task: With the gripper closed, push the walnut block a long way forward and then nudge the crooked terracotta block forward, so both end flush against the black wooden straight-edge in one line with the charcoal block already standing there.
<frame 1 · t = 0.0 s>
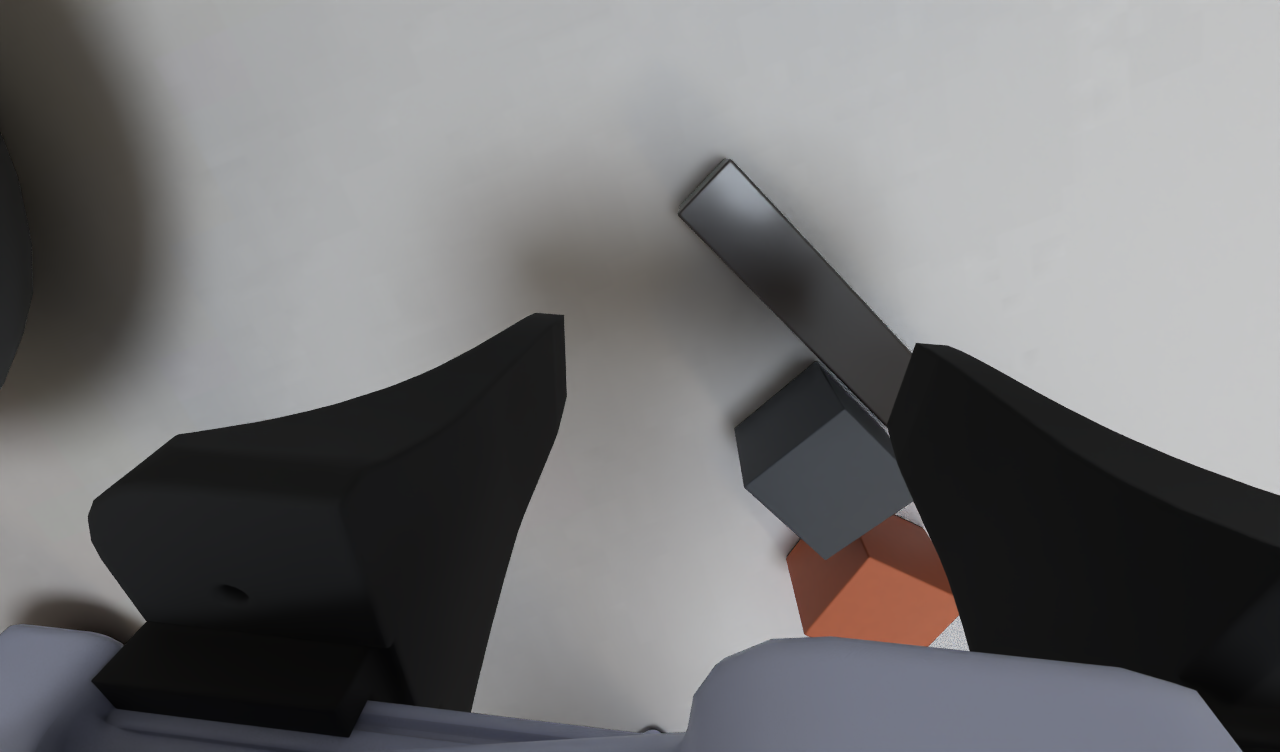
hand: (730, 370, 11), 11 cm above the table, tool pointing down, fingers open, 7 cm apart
terracotta block: (853, 543, 25), on the table
charcoal block: (808, 429, 23), on the table
straight edge: (890, 380, 22), on the table
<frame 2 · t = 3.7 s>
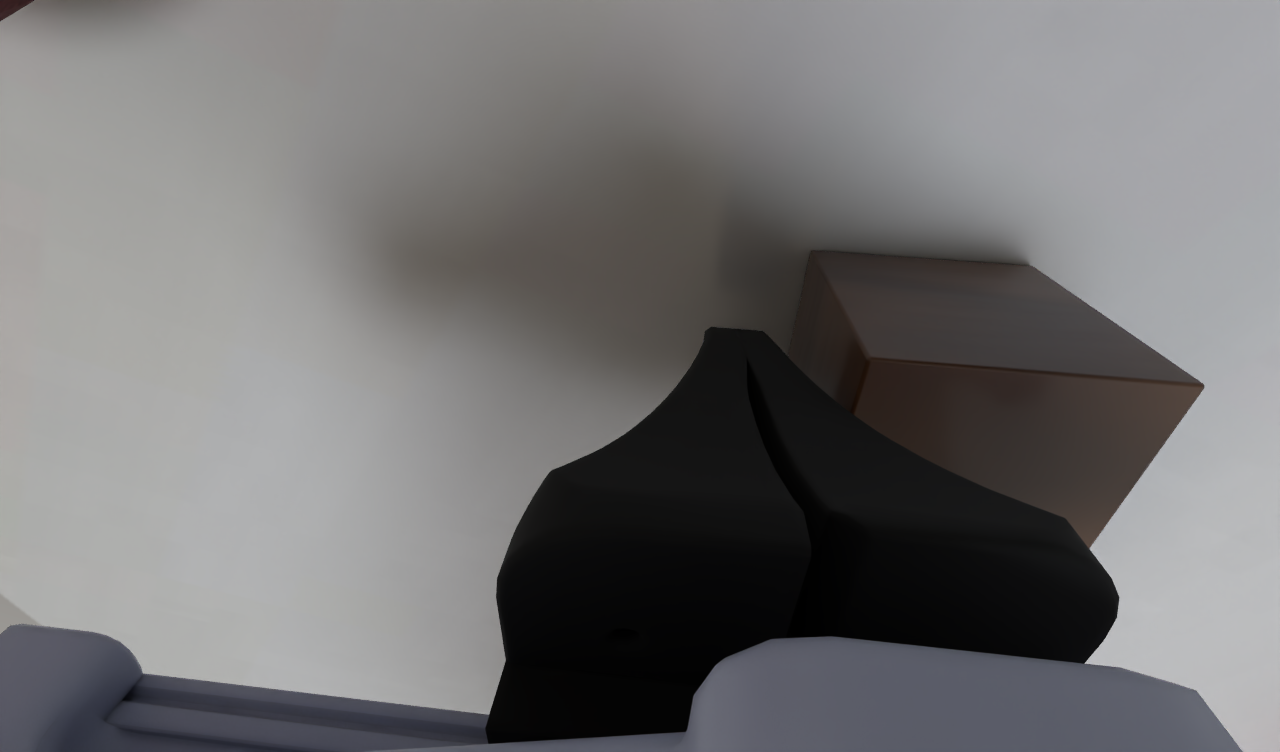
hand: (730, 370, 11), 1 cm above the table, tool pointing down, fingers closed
walnut block: (889, 352, 12), on the table, touching gripper
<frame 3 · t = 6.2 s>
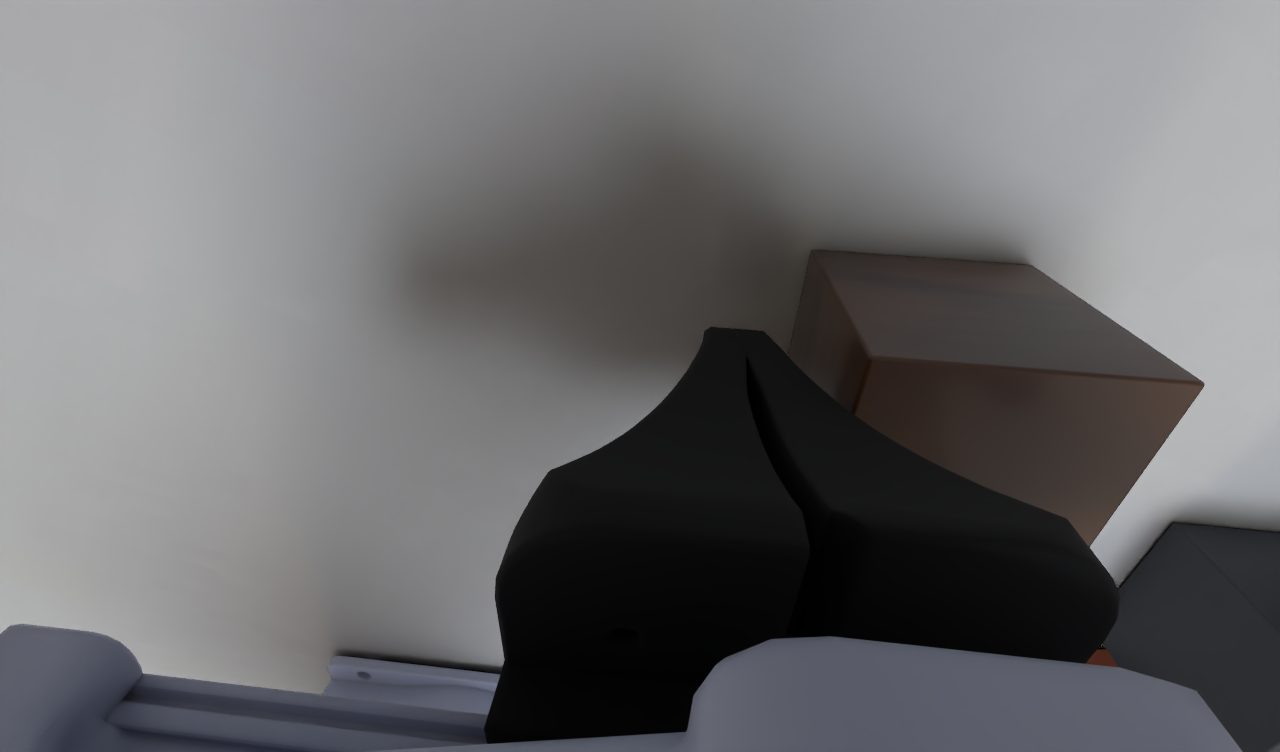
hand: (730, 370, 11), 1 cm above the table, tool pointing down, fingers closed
walnut block: (889, 351, 12), on the table, touching gripper
terracotta block: (1031, 690, 19), on the table
charcoal block: (1210, 585, 15), on the table
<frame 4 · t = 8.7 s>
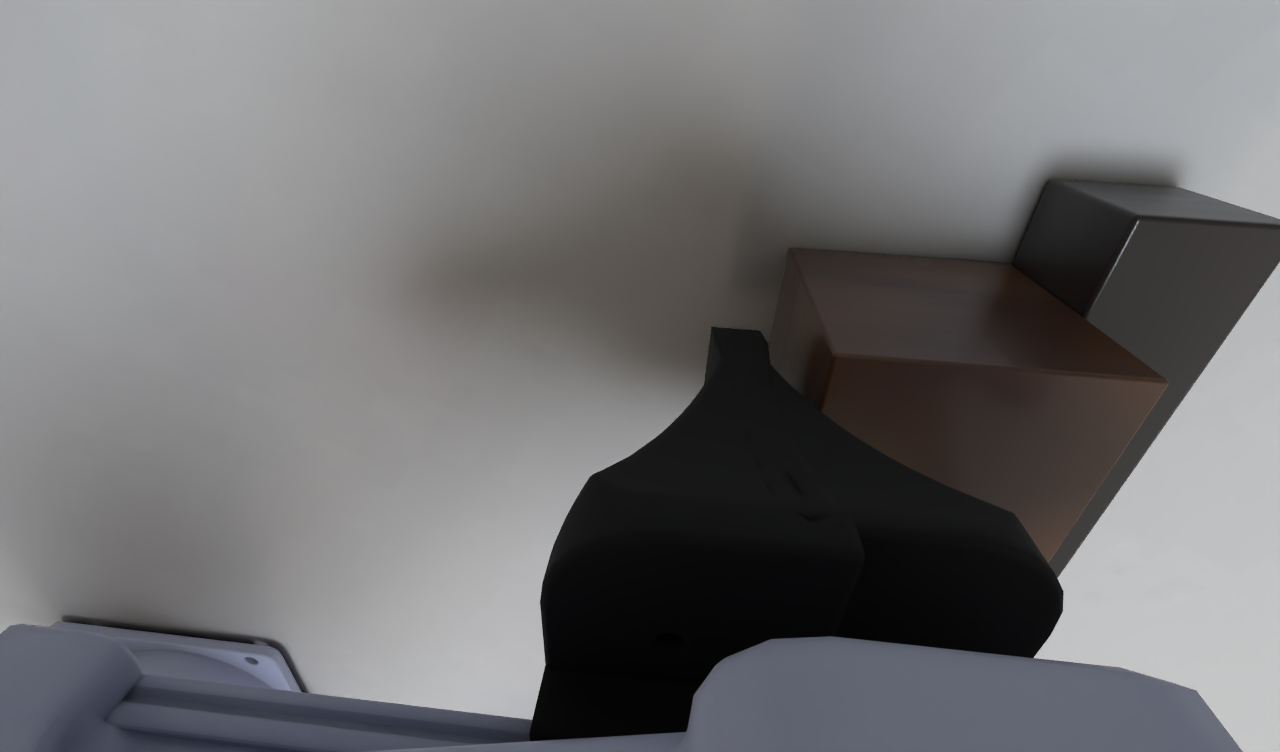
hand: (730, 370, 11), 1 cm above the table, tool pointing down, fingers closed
walnut block: (869, 349, 12), on the table, touching gripper, straight edge
straight edge: (923, 568, 16), on the table
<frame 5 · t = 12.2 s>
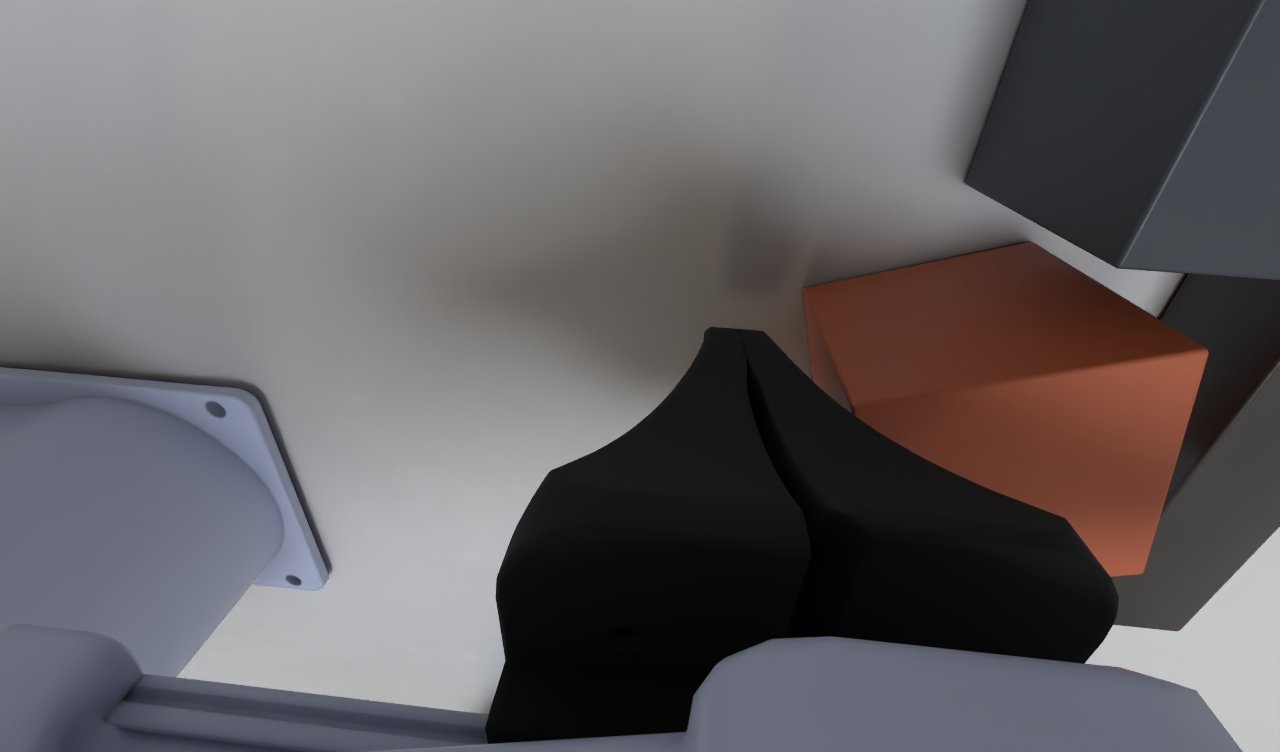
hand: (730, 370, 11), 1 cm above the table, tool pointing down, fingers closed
terracotta block: (913, 356, 12), on the table, touching gripper
charcoal block: (1149, 54, 9), on the table
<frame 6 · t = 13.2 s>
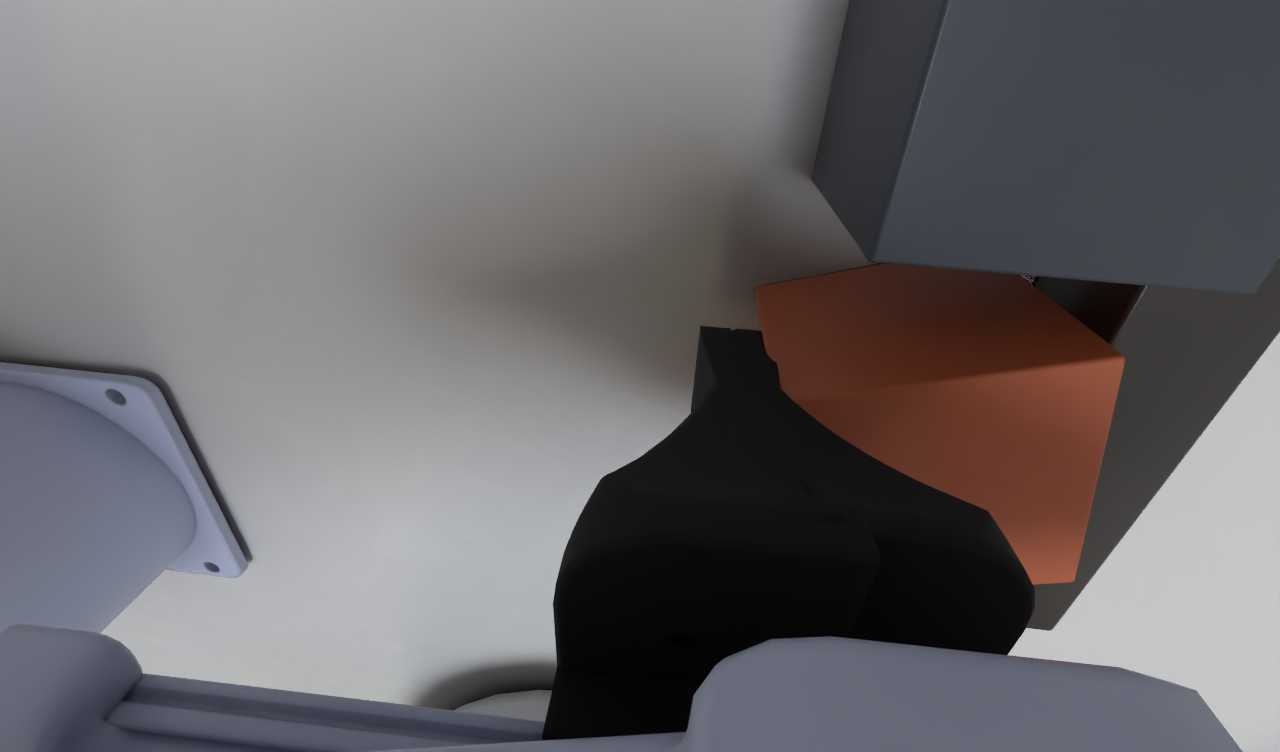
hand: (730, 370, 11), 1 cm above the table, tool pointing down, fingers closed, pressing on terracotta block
terracotta block: (867, 358, 12), on the table, touching gripper, straight edge
charcoal block: (975, 53, 9), on the table
straight edge: (1195, 101, 9), on the table
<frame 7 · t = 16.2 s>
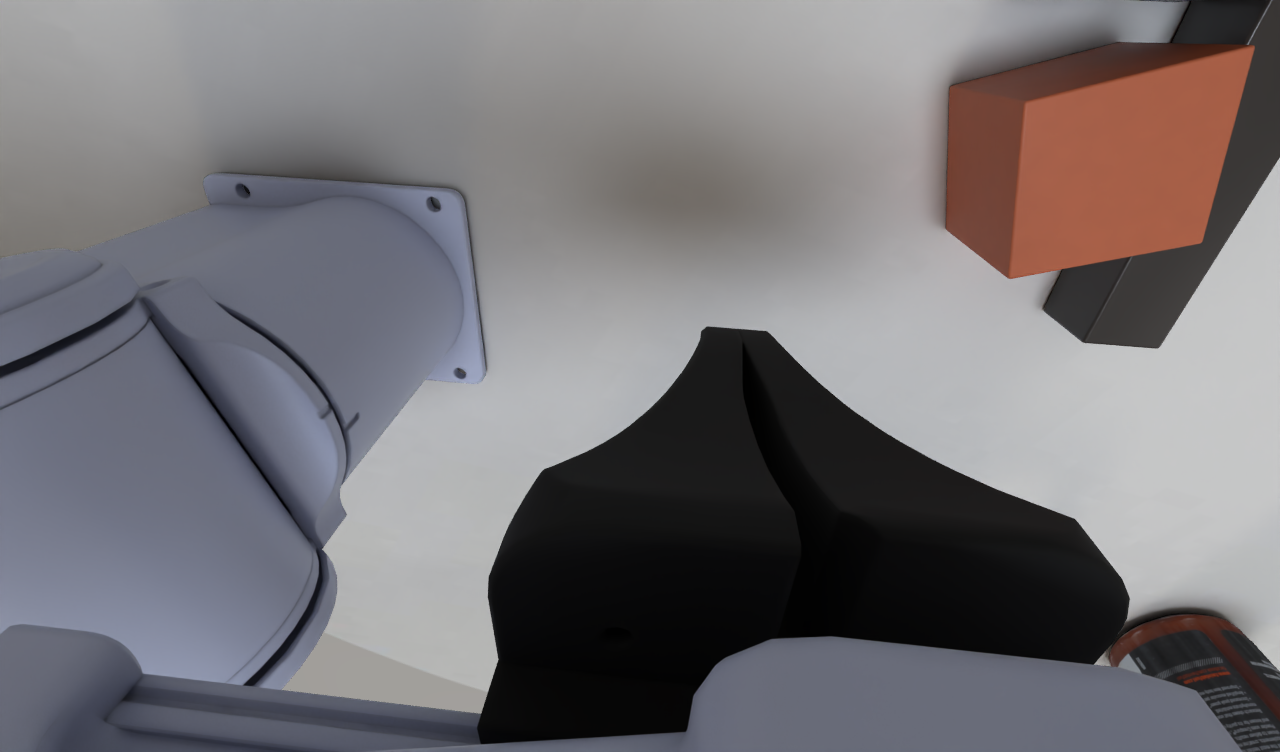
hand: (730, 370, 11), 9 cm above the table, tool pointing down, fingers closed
terracotta block: (1024, 144, 17), on the table
supplement bottle: (1165, 639, 29), on the table
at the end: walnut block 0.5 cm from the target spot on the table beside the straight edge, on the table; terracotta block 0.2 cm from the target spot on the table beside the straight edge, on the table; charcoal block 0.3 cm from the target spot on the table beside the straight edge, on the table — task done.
